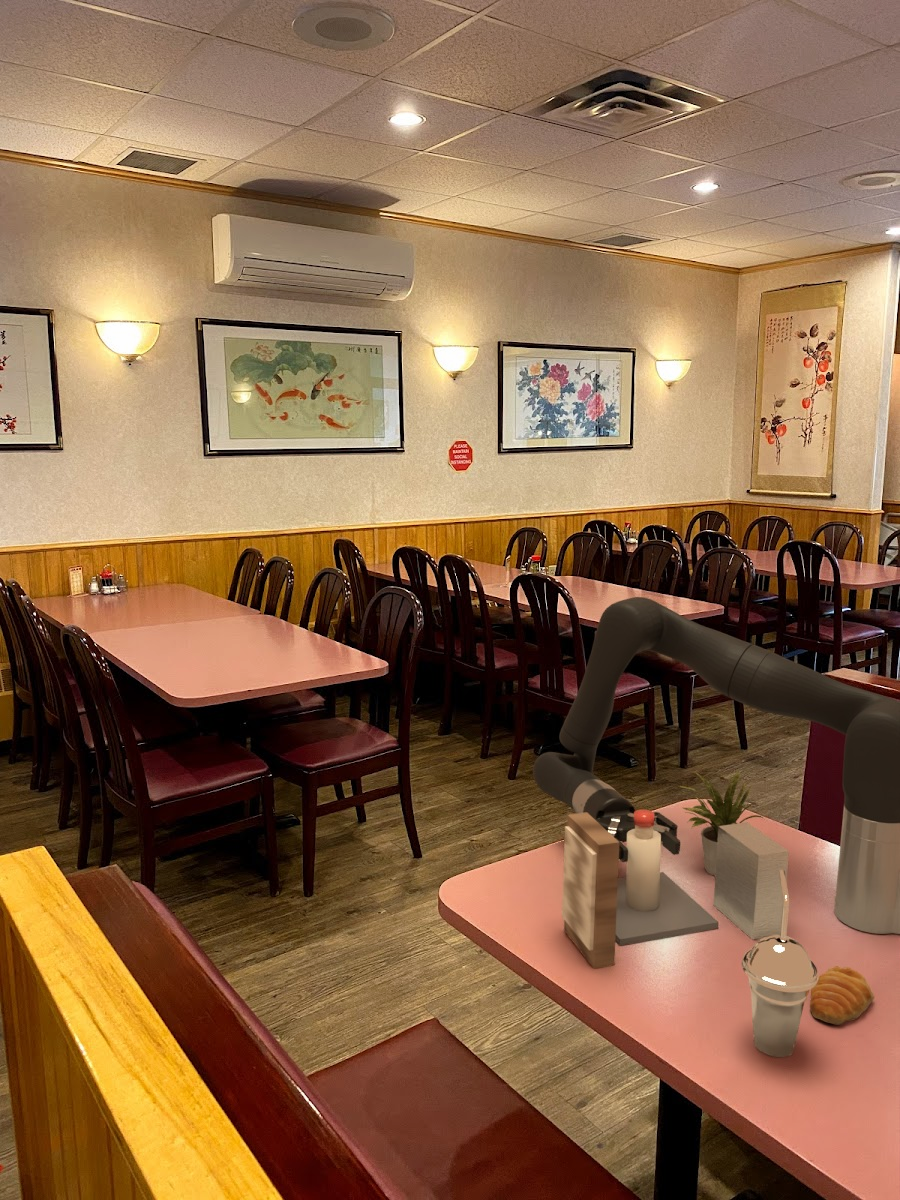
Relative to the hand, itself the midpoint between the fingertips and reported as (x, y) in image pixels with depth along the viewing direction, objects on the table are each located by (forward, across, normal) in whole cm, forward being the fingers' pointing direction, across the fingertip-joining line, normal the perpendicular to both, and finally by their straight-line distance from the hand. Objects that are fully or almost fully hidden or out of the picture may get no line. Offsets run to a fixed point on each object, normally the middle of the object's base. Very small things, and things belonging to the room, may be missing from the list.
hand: (652, 852), depth 136 cm
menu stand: (+5, -12, +10) cm, 17 cm away
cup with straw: (+30, 0, +10) cm, 32 cm away
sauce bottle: (-2, 0, +9) cm, 9 cm away
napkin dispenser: (+5, +14, +10) cm, 18 cm away
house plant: (-11, +19, +10) cm, 24 cm away
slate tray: (-2, 0, +10) cm, 10 cm away
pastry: (+26, +13, +11) cm, 31 cm away
